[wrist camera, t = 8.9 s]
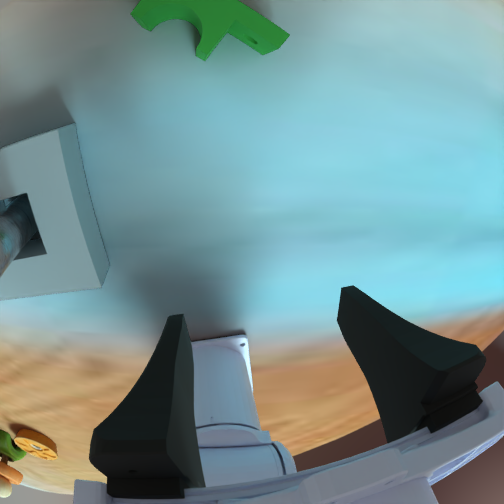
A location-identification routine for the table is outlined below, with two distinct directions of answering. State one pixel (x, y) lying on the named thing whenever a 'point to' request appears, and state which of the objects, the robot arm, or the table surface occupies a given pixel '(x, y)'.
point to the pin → (15, 229)
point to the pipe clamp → (214, 22)
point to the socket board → (52, 217)
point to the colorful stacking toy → (21, 455)
